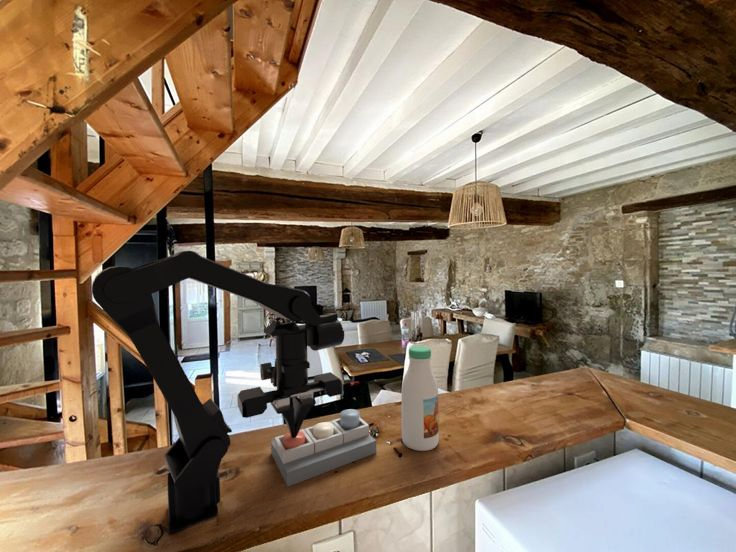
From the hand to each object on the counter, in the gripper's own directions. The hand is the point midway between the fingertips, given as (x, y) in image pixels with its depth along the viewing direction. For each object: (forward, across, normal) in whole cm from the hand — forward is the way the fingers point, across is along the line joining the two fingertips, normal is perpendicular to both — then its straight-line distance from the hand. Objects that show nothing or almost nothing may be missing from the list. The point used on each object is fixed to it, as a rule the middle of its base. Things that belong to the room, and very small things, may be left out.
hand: (293, 436), depth 60 cm
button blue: (+1, -12, 0) cm, 12 cm away
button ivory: (+2, -6, 0) cm, 7 cm away
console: (+5, -6, 0) cm, 8 cm away
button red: (+2, 0, 0) cm, 2 cm away
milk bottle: (+5, -25, +7) cm, 27 cm away
